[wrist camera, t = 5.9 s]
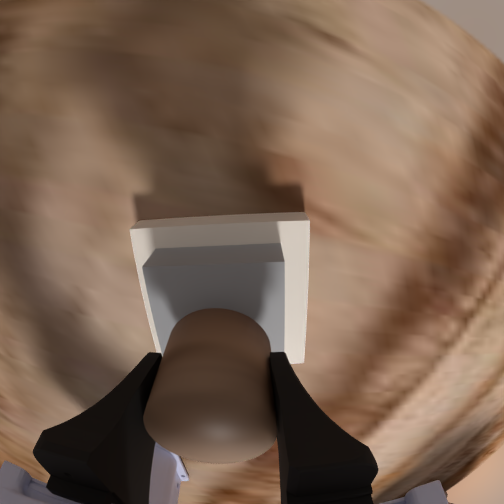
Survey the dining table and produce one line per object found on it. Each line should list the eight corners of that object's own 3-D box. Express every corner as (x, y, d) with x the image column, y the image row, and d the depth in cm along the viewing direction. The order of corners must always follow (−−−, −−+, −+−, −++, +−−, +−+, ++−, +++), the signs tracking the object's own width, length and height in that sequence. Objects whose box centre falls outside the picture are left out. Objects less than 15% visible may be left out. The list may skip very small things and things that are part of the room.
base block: (299, 341, 23) (303, 363, 21) (167, 343, 23) (160, 365, 21) (303, 208, 19) (309, 220, 17) (143, 217, 19) (129, 229, 17)
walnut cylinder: (272, 383, 16) (278, 462, 11) (180, 386, 16) (163, 460, 11) (268, 304, 14) (275, 387, 9) (158, 310, 14) (125, 387, 9)
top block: (281, 345, 20) (283, 370, 18) (175, 346, 20) (167, 371, 18) (280, 243, 17) (284, 261, 15) (155, 248, 17) (141, 266, 15)
